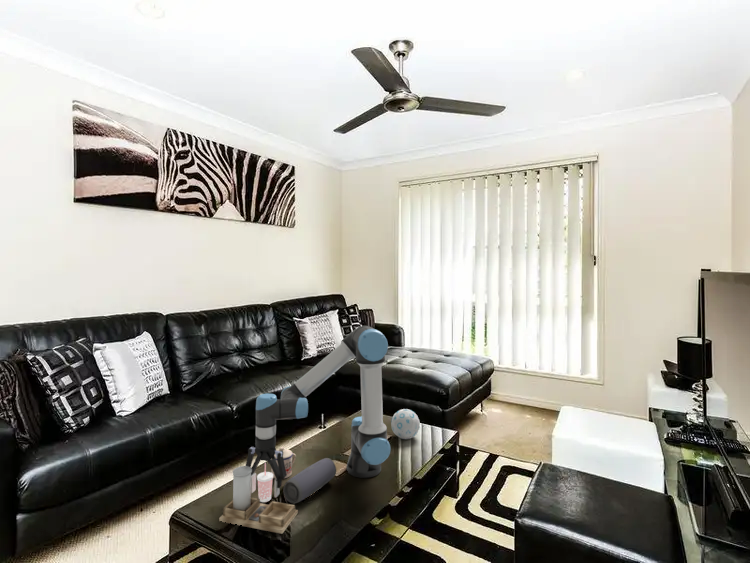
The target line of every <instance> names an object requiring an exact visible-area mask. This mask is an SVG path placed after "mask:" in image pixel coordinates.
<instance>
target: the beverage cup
mask: <svg viewBox="0 0 750 563" xmlns="http://www.w3.org/2000/svg"><path fill="white" fill-rule="evenodd" d="M273 479H274V478H273V473H271V471H267V461H265V462H264V471H263V472H262V471H261V472H259V473H258V474H256V481H257V490H258V492H257V494H258V496H257V497H258V499H260V503H267V502H269V501H270V500H272V492H273V491H272V490H273Z"/></svg>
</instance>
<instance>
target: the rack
mask: <svg viewBox="0 0 750 563" xmlns="http://www.w3.org/2000/svg"><path fill="white" fill-rule="evenodd" d="M298 513H299V510H298V509H296V504H292V503H291V504H290V503H285V502H279V501H273V500H271V501H270V503H269V504H266V503H263V502H260V499H259V497H258V498H256V497H251V506H250V507H249V508H248V509H247V510H246V511H241V510H235V509H233V499H232V500H231V501H230V502H229V503H228V504H226V505H225V506H224V507H223V508H222V514H221V516H220V517H219V518H218V519H219V522H220V521H222V522H221V523H225V522H226V523H225V524H230V523H231V524H232V525H235V524H237V525H236V526H240V525H242V526H241V527H247V528H250V529H251V528H252V529H257V530H261V531H266V532H267V531H268V532H271V533H276V534H281V535H282V534H283V533H284V532H285V531H286V530H287V528H288V527H289V526H290V524H291V523H292V522H293V520H294V519H295V518H296V516H297V515H298Z"/></svg>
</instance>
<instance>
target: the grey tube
mask: <svg viewBox="0 0 750 563" xmlns="http://www.w3.org/2000/svg"><path fill="white" fill-rule="evenodd" d="M251 467H252V466H251ZM251 467H249V466H246V465H242V466H241V465H240V466H237V467H235V468H234V469H233V470H232V475H233V476H232V478H233V483H232V484H233V486H232V489H233V490H232V500H233V509H235V510H241V511H246V510H247V509H248V508H249V507H250V506H251V496H252V493H251V472H252V468H251Z"/></svg>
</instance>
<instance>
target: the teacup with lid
mask: <svg viewBox="0 0 750 563" xmlns="http://www.w3.org/2000/svg"><path fill="white" fill-rule="evenodd" d="M276 451H283V460H284V464H285V469H286V474H287V476H286V477H285V478H284V479H287V478H289V477H291V476H292V474H293V472H292V471H293V464H294V463H295V462H296V459H297V455H296V454H295V453H293V451H292V450H290V449H288V448H287V449H286V448H285V447H284V446H280V447H279V449H276ZM274 456H275V458H276V454H275V455H274ZM271 460H272V459H271ZM276 462H277V458H276ZM277 465H278V462H277ZM270 469H271V470H270V472H271V473H273V479H274V480H275V479H276V477H275V474H274V472H273V470H272V468H271V467H270ZM284 479H283V480H284Z"/></svg>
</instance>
